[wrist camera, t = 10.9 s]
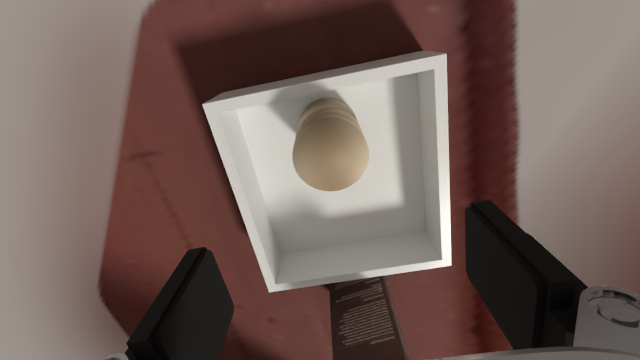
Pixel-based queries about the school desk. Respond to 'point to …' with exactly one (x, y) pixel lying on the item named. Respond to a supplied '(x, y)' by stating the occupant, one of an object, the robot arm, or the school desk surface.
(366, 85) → the tote
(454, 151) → the school desk surface
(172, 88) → the school desk surface
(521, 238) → the robot arm
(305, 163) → the beige piece
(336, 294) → the box
